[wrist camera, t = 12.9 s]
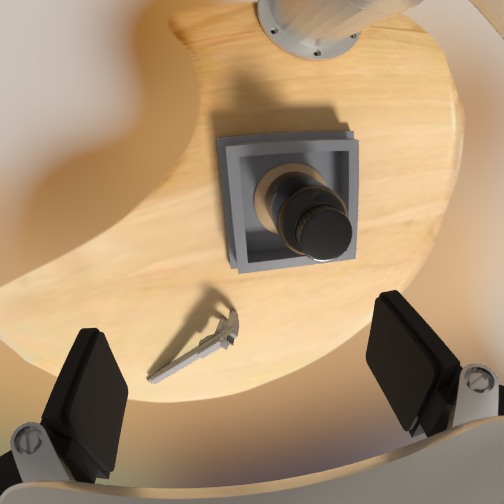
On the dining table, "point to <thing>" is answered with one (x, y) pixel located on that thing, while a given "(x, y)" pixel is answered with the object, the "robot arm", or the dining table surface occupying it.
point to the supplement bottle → (308, 216)
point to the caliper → (203, 347)
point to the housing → (264, 173)
